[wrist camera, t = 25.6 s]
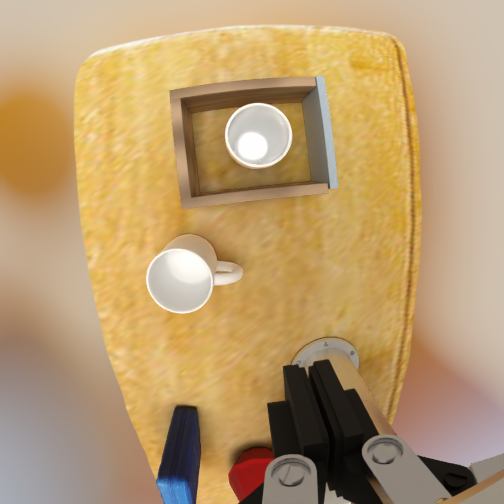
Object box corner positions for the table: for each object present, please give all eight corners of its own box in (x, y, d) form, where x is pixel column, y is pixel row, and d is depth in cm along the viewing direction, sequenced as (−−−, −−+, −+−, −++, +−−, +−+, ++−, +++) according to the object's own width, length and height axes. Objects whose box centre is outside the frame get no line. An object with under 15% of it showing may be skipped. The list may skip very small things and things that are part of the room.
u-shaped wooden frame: (310, 189, 46) (328, 193, 37) (192, 202, 46) (182, 209, 36) (299, 94, 42) (314, 76, 33) (182, 106, 42) (169, 90, 33)
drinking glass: (277, 128, 44) (297, 107, 29) (271, 174, 45) (288, 172, 31) (230, 122, 43) (228, 97, 28) (224, 168, 45) (219, 164, 30)
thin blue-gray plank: (318, 185, 46) (338, 188, 37) (311, 186, 46) (330, 188, 37) (307, 94, 42) (323, 76, 33) (300, 94, 42) (315, 76, 33)
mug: (244, 235, 47) (246, 252, 37) (240, 289, 49) (242, 317, 39) (163, 231, 46) (145, 246, 36) (163, 284, 48) (147, 310, 38)
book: (203, 450, 57) (198, 526, 38) (179, 449, 57) (167, 523, 38) (199, 403, 54) (189, 487, 35) (171, 402, 54) (152, 483, 34)
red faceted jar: (218, 443, 57) (215, 521, 37) (282, 431, 57) (297, 509, 37) (239, 481, 61) (242, 549, 41) (295, 470, 60) (309, 538, 41)
